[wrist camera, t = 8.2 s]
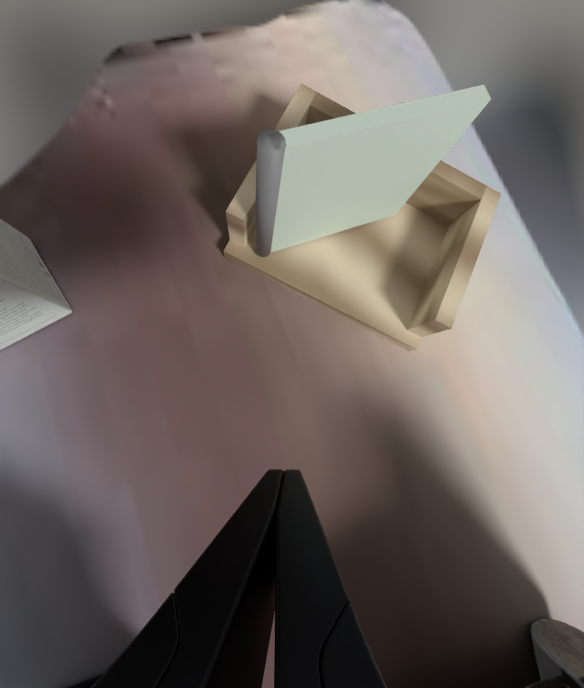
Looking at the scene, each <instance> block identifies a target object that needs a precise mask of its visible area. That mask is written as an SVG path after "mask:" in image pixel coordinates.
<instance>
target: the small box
mask: <svg viewBox="0 0 584 688" xmlns="http://www.w3.org/2000/svg"><path fill="white" fill-rule="evenodd" d="M70 313H72V309H71V307H70V306H69V304H68V302H67V300H66V299H65V297H64V296H63V294H62V292H61V290H60V289H59V287H58V285H57V284H56V282H55V280H54V279H53V277H52V275H51V274H50V272H49V270H48V269H47V267H46V266H45V264H44V262H43V261H42V259H41V257H40V256H39V254H38V252H37V250H36V249H35V247H34V245H33V244H32V242H31V240H30V239H29V238H28V237H27V236H25V235H24V234H22V233H21V232H20V231H18V230H16V229H15V228H13V227H12V226H10V225H9V224H7V223H6V222H4V221H3V220H1V219H0V350H1V349H3V348H5V347H7V346H9V345H11V344H13V343H15V342H17V341H19V340H20V339H22V338H24V337H26V336H28V335H30V334H32V333H34V332H36V331H38V330H40V329H42V328H43V327H45V326H47V325H49V324H51V323H53V322H55V321H57V320H59V319H61V318H63V317H65V316H67V315H68V314H70Z"/></svg>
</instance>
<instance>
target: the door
mask: <svg viewBox="0 0 584 688" xmlns="http://www.w3.org/2000/svg"><path fill="white" fill-rule="evenodd" d="M490 100H491V98H490V96H489V94H488V92H487V90H486V88H485V86H484V85H481V86H476V87H472V88H467V89H463V90H459V91H454V92H450V93H445V94H441V95H436V96H432V97H428V98H423V99H419V100H414V101H410V102H405V103H401V104H397V105H392V106H388V107H383V108H379V109H375V110H370V111H366V112H361V113H357V114H352V115H348V116H344V117H339V118H335V119H330V120H326V121H321V122H317V123H313V124H308V125H304V126H299V127H295V128H291V129H286V130H282V131H277V130H274V129H266V130H263V131H262V132H260V133H259V135H258V137H257V157H256V205H255V253H256V254H257V255H258V256H260V257H267V256H268V255H269V254H270V253H271V252H274V251H277V250H281V249H284V248H287V247H291V246H294V245H297V244H300V243H304V242H307V241H310V240H314V239H317V238H320V237H324V236H327V235H330V234H333V233H337V232H340V231H343V230H347V229H350V228H353V227H356V226H360V225H363V224H366V223H370V222H373V221H376V220H380V219H383V218H386V217H389V216H393V215H396V213H397V212H398V211H399V210H400V209H401V207H402V206H403V205H404V204H405V203H406V201H407V200H408V199H409V198H410V197H411V195H412V194H413V193H414V192H415V190H416V189H417V188H418V187H419V186H420V184H421V183H422V182H423V181H424V180H425V178H426V177H427V176H428V175H429V174H430V172H431V171H432V170H433V169H434V167H435V166H436V165H437V164H438V163H439V161H440V160H441V159H442V158H443V157H444V155H445V154H446V153H447V152H448V151H449V149H450V148H451V147H452V146H453V144H454V143H455V142H456V141H457V140H458V138H459V137H460V136H461V135H462V134H463V132H464V131H465V130H466V129H467V128H468V126H469V125H470V124H471V123H472V121H473V120H474V119H475V118H476V117H477V115H478V114H479V113H480V112H481V111H482V109H483V108H484V107H485V106H486V104H487V103H488V102H489V101H490Z"/></svg>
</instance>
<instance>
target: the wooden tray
mask: <svg viewBox="0 0 584 688" xmlns="http://www.w3.org/2000/svg"><path fill="white" fill-rule="evenodd" d="M352 114H356V113H354V112H352V111H350V110H349V109H347V108H345V107H343V106H341V105H339V104H338V103H336V102H334V101H332V100H330V99H329V98H327V97H325V96H323V95H321V94H320V93H318V92H316V91H314V90H312V89H311V88H309V87H307V86H305V85H303V84H301V85H300V86H299V88H298V90H297V92H296V93H295V95H294V97H293V98H292V100H291V102H290V103H289V105H288V107H287V108H286V110H285V112H284V114H283V115H282V117H281V119H280V120H279V122H278V124H277V125H276V127H275V129H274V130H277V131H282V130H286V129H291V128H295V127H299V126H304V125H308V124H313V123H317V122H321V121H326V120H330V119H335V118H339V117H344V116H348V115H352ZM500 196H501V193H499V192H497V191H495V190H493V189H491V188H490V187H488V186H486V185H484V184H482V183H481V182H479V181H477V180H475V179H473V178H472V177H470V176H468V175H466V174H464V173H463V172H461V171H459V170H457V169H455V168H453V167H452V166H450V165H448V164H446V163H444V162H443V161H441V160H440V161H439V163H438V164H437V165H436V166H435V167H434V169H433V170H432V171H431V172H430V174H429V175H428V176H427V177H426V178H425V180H424V181H423V182H422V183H421V184H420V186H419V187H418V188H417V189H416V190H415V192H414V193H413V194H412V195H411V197H410V198H409V199H408V200H407V201H406V203H405V204H404V205H403V206H402V207H401V209H400V210H399V211H398V212H397V213H396V215H393V216H389V217H386V218H383V219H380V220H376V221H373V222H370V223H366V224H363V225H360V226H356V227H353V228H350V229H347V230H343V231H340V232H337V233H333V234H330V235H327V236H324V237H320V238H317V239H314V240H310V241H307V242H304V243H300V244H297V245H294V246H291V247H287V248H284V249H281V250H277V251H274V252H271V253H270V254H269V255H268V256H267V257H260V256H258V255H257V254H256V253H255V205H256V161H255V163H254V164H253V166H252V168H251V169H250V171H249V173H248V174H247V176H246V178H245V180H244V181H243V183H242V185H241V186H240V188H239V190H238V191H237V193H236V195H235V196H234V198H233V200H232V202H231V203H230V205H229V207H228V208H227V210H226V217H227V224H228V231H229V237H230V240H229V242H228V244H227V245H226V247H225V249H224V251H223V252H224V257H226V258H228V259H229V260H231V261H233V262H235V263H237V264H239V265H241V266H243V267H245V268H247V269H249V270H251V271H253V272H255V273H257V274H259V275H261V276H263V277H265V278H267V279H269V280H271V281H273V282H275V283H277V284H279V285H281V286H283V287H285V288H287V289H288V290H290V291H292V292H294V293H296V294H298V295H300V296H302V297H304V298H306V299H308V300H310V301H312V302H314V303H316V304H318V305H320V306H322V307H324V308H326V309H328V310H330V311H332V312H334V313H336V314H338V315H340V316H342V317H344V318H346V319H348V320H349V321H351V322H353V323H355V324H357V325H359V326H361V327H363V328H365V329H367V330H369V331H371V332H373V333H375V334H377V335H379V336H381V337H383V338H385V339H387V340H389V341H391V342H393V343H395V344H397V345H399V346H401V347H403V348H405V349H407V350H409V351H411V350H415V349H416V348H417V346H418V343H419V341H420V338H421V337H424V336H427V335H431V334H434V333H437V332H441V331H444V330H447V329H450V328H452V325H453V323H454V320H455V317H456V314H457V312H458V309H459V306H460V304H461V301H462V298H463V296H464V293H465V290H466V287H467V285H468V282H469V279H470V277H471V274H472V271H473V268H474V266H475V263H476V260H477V258H478V255H479V252H480V250H481V247H482V244H483V241H484V239H485V236H486V233H487V231H488V228H489V225H490V223H491V220H492V217H493V214H494V212H495V209H496V206H497V204H498V201H499V198H500Z"/></svg>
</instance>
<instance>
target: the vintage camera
mask: <svg viewBox="0 0 584 688" xmlns="http://www.w3.org/2000/svg"><path fill="white" fill-rule="evenodd" d="M530 632H531V637H532V642H533V647H534V652H535V657H536V661H537V665H538V670H539V674H540V679H541V681H539V682H536V683H533V684H530V685H528V686H527V687H525V688H584V632H582V631H581V630H579V629H577V628H575V627H573V626H570V625H568V624H566V623H564V622H561V621H557V620H552V619H548V618H542V619H538V620H536V621H534V622H533V624H532V625H531V630H530Z"/></svg>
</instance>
